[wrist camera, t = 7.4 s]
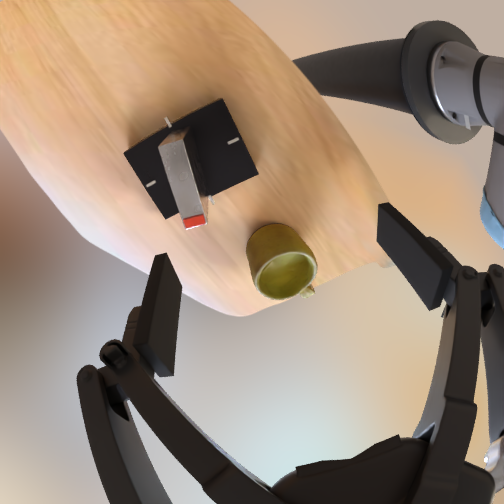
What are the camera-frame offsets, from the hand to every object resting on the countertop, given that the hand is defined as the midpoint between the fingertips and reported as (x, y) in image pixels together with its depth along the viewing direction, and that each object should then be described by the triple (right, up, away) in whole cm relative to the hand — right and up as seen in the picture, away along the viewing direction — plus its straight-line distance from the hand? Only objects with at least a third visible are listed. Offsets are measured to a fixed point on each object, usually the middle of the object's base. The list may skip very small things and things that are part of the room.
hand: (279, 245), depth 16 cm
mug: (+3, 0, +29) cm, 29 cm away
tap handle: (-9, +11, +16) cm, 22 cm away
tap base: (-10, +12, +18) cm, 24 cm away
